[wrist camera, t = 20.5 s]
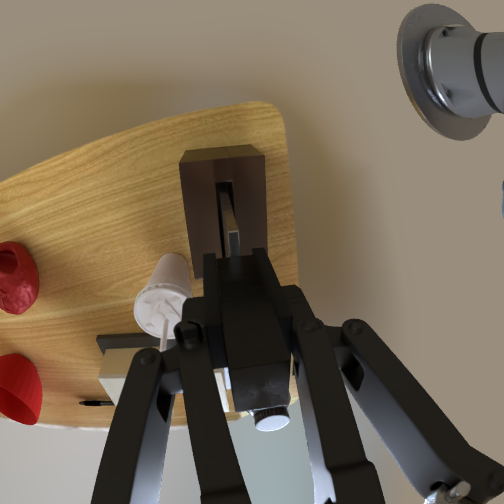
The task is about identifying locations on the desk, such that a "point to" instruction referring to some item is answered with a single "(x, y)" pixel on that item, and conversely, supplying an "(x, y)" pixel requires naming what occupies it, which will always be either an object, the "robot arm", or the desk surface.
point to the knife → (249, 325)
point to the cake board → (140, 345)
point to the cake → (116, 370)
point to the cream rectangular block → (222, 388)
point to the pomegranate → (17, 278)
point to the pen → (96, 403)
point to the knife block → (208, 199)
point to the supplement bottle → (271, 417)
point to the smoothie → (163, 298)
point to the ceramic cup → (20, 389)
